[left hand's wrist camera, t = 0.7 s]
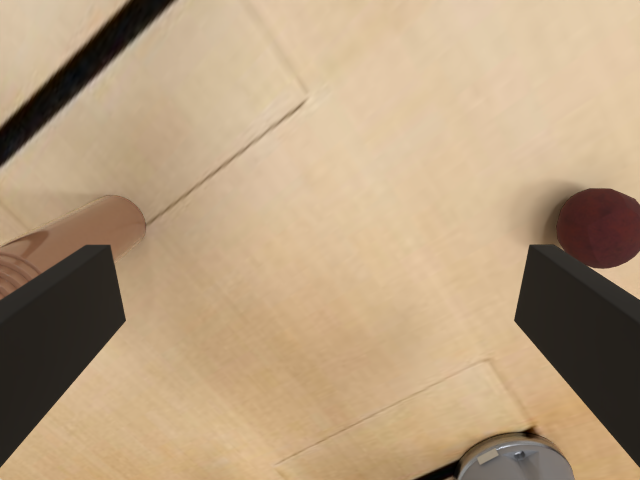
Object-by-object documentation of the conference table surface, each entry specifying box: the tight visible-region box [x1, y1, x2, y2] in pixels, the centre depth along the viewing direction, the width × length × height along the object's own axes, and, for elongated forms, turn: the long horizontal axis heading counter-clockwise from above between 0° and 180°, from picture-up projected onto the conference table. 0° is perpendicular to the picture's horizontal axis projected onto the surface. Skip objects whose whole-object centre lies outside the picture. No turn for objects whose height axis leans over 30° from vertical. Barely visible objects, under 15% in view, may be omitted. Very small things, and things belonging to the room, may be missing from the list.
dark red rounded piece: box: [557, 189, 640, 269], centre depth 37 cm, size 7×8×7 cm
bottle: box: [0, 195, 146, 300], centre depth 31 cm, size 6×6×21 cm
